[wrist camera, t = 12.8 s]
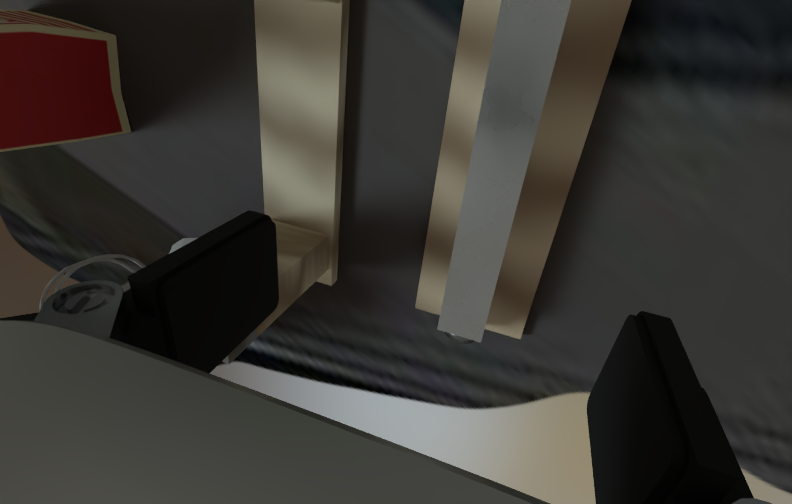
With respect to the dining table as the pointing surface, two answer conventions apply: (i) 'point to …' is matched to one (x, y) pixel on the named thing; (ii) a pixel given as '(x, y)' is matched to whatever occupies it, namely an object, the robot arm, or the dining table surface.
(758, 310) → the dining table surface
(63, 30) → the milk carton
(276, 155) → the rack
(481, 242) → the rail
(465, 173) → the wooden board
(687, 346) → the dining table surface
